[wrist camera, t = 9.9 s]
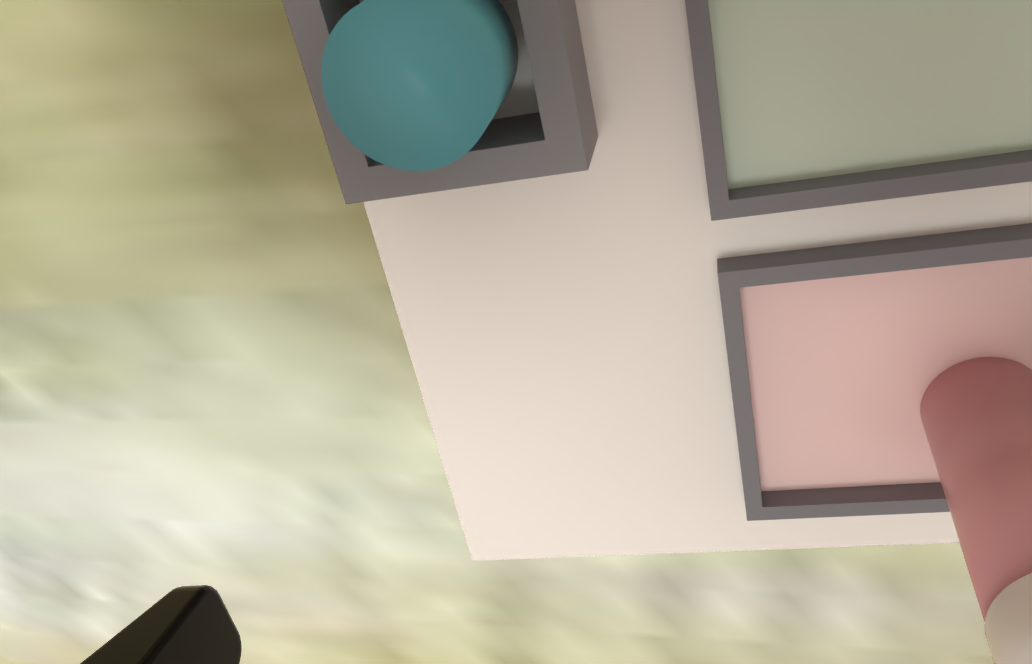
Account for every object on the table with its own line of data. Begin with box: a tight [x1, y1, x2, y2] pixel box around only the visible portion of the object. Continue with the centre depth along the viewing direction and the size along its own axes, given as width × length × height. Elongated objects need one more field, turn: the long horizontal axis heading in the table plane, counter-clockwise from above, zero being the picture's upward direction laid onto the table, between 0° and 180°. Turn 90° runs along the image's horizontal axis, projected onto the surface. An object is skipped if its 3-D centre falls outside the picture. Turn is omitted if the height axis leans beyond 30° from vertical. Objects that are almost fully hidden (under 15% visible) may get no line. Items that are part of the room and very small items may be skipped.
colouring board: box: [282, 0, 1032, 561], centre depth 20 cm, size 17×17×3 cm
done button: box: [321, 0, 518, 171], centre depth 17 cm, size 3×3×2 cm
